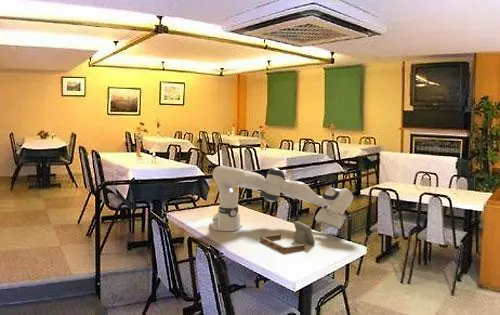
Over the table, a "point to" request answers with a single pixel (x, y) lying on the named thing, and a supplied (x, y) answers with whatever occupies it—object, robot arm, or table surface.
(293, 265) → the table surface
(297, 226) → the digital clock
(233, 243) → the table surface
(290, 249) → the frame
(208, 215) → the table surface
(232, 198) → the robot arm
